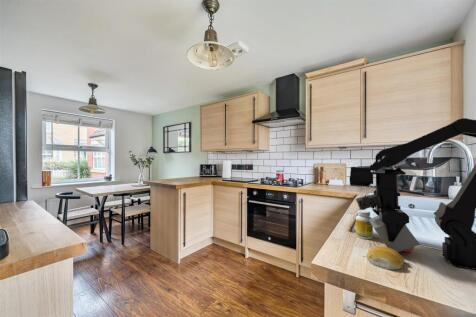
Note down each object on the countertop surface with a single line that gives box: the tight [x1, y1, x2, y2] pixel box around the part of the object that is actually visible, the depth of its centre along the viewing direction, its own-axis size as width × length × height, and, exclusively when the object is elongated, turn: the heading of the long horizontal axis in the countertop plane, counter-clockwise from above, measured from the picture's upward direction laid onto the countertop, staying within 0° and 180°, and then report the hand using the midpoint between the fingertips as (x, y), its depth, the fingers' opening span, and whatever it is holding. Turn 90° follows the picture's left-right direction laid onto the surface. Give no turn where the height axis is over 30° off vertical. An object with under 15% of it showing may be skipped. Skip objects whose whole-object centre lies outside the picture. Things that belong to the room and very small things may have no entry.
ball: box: [402, 247, 415, 253], centre depth 62 cm, size 5×5×5 cm
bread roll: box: [365, 246, 405, 271], centre depth 56 cm, size 8×9×4 cm
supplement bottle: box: [355, 209, 374, 240], centre depth 73 cm, size 5×5×10 cm
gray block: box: [369, 215, 421, 253], centre depth 63 cm, size 8×8×9 cm
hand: (387, 236), depth 63 cm, fingers closed on gray block, 8 cm apart
